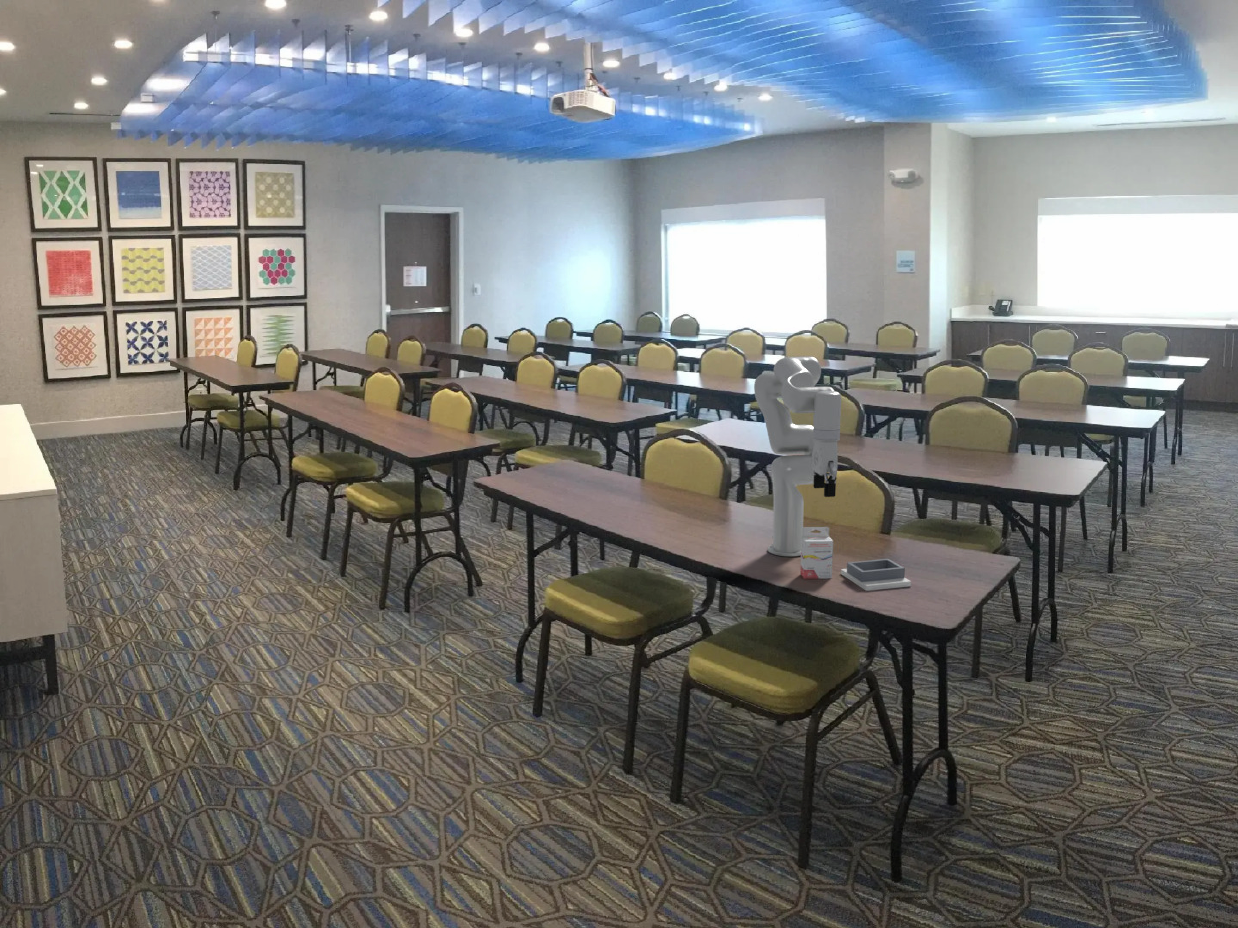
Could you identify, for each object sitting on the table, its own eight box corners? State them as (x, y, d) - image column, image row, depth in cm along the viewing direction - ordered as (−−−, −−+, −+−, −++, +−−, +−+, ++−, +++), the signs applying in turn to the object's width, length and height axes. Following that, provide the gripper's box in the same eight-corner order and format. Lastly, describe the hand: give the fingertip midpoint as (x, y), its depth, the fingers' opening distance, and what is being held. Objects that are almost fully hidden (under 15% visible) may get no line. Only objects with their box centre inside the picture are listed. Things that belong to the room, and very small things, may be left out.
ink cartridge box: (803, 579, 283) (804, 531, 280) (800, 574, 288) (801, 526, 285) (832, 578, 283) (833, 530, 281) (828, 573, 288) (829, 526, 285)
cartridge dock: (840, 573, 288) (841, 559, 287) (883, 569, 291) (883, 555, 290) (866, 590, 272) (866, 575, 271) (910, 586, 275) (911, 571, 275)
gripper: (804, 429, 282) (802, 485, 286) (823, 441, 265) (820, 500, 269) (829, 428, 282) (827, 484, 286) (849, 440, 266) (846, 499, 270)
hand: (824, 492), depth 278 cm, fingers open, 9 cm apart
